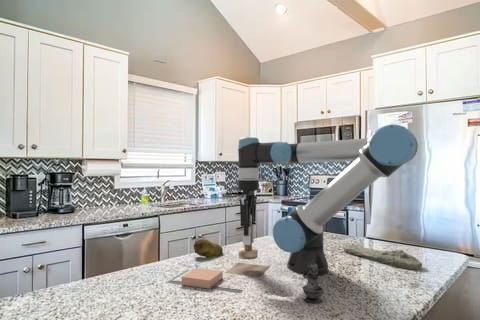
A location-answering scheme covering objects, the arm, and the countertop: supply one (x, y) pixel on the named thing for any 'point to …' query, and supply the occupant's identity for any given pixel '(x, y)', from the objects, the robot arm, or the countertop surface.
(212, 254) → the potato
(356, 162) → the robot arm
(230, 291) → the mat
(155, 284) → the countertop surface
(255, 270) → the board
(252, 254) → the masher
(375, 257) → the elongated rock
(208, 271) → the tile
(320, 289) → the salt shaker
